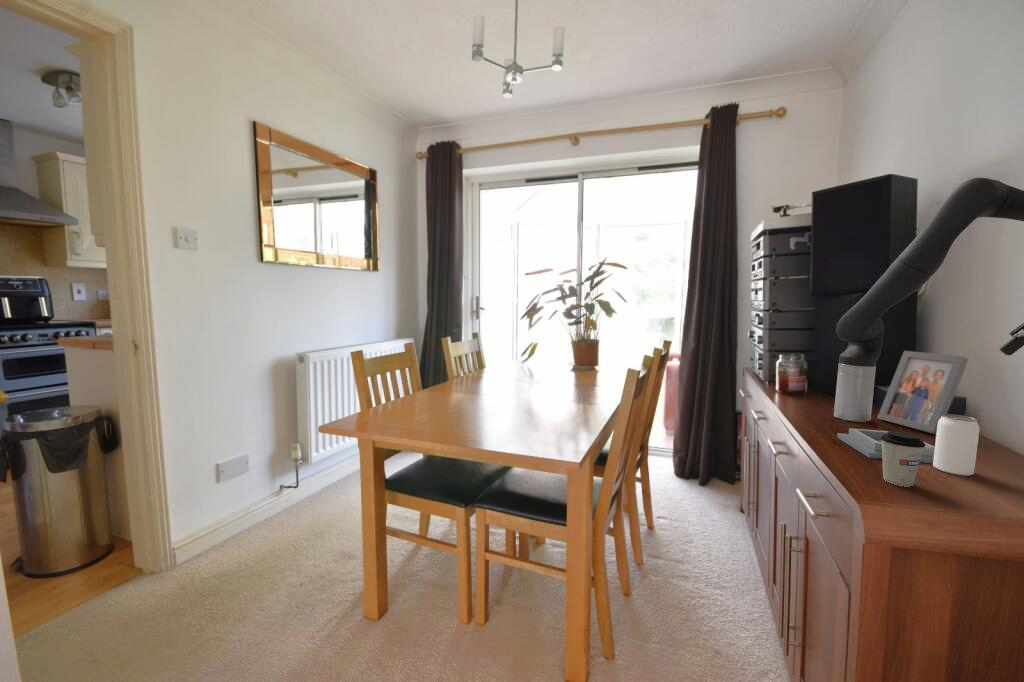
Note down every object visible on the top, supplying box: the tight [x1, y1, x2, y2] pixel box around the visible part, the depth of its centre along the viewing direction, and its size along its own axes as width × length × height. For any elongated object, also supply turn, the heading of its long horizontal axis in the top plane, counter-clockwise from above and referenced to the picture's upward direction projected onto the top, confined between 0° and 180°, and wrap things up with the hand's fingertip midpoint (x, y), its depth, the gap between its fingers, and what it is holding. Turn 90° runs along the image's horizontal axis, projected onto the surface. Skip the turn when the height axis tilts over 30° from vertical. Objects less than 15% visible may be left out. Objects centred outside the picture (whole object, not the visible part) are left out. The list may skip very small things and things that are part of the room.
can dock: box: [836, 427, 935, 464], centre depth 111 cm, size 16×16×3 cm
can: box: [932, 413, 980, 477], centre depth 98 cm, size 6×6×12 cm
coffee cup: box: [880, 430, 926, 488], centre depth 91 cm, size 7×7×10 cm
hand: (1019, 354), depth 95 cm, fingers open, 8 cm apart
